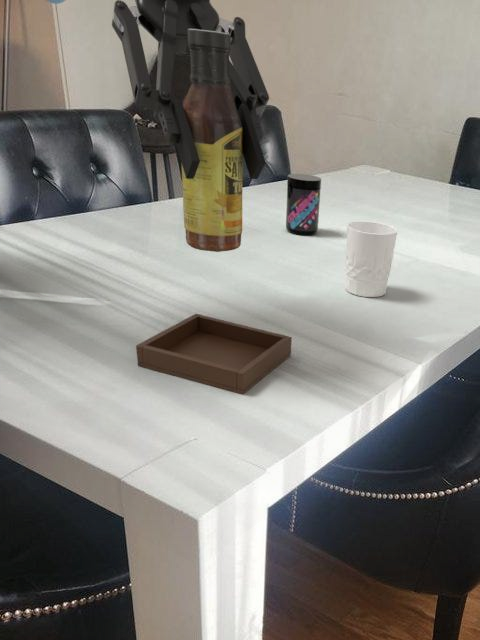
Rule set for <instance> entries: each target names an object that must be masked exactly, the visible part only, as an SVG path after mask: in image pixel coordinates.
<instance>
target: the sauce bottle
mask: <svg viewBox="0 0 480 640" xmlns="http://www.w3.org/2000/svg"><path fill="white" fill-rule="evenodd" d="M187 35H188V46H189V50H190V55H189V56H190V57H189V58H190V59H189V61H190V74H189V79H190V82H191V84H190V87H189V88H188V91H187V94H186V95H185V96H184V97H183V99H182V104H183V108H184V111H185V114H186V117H187V121H188V124H189V127H190V130H191V134H192V137H193V140H194V143H195V147H196V150H197V153H198V156H199V160H200V163H199V166H198V168H197V171H196V174H195V176H194V179H186V176H185V173H184V169H183V166H182V163H181V183H182V184H181V187H182V208H183V224H184V225H183V226H184V229H185V242H186V244H187V245H188V246H190V247H191V248H192V249H195V250H198V251H206V252H214V253H221V252H229V251H234V250H236V249H239V248H240V246H241V245H242V233H243V169H244V168H243V153H242V124H241V121H240V118H239V115H238V112H237V109H236V105H235V102H234V98H233V95H232V91H231V88H230V83H231V81H230V78H229V60H230V56H229V53H230V51H231V36H230V34H229V33H223V32H216V31H209V30H199V29H188V32H187Z"/></svg>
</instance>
